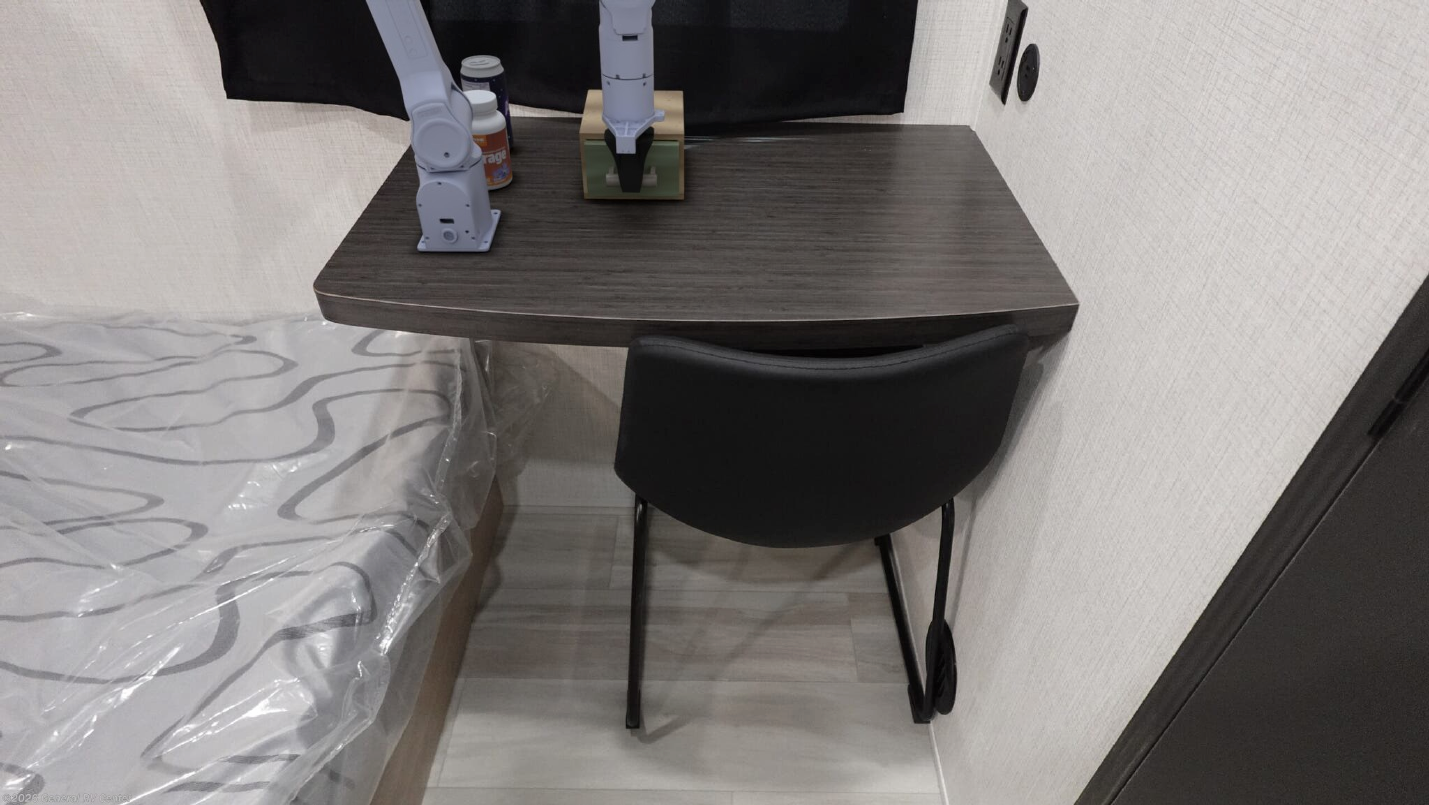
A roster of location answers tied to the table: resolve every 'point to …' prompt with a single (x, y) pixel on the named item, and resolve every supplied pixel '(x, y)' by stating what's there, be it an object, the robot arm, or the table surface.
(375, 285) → the table surface
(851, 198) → the table surface
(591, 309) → the table surface
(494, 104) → the pill bottle
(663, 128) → the cabinet
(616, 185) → the drawer
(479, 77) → the beverage can
